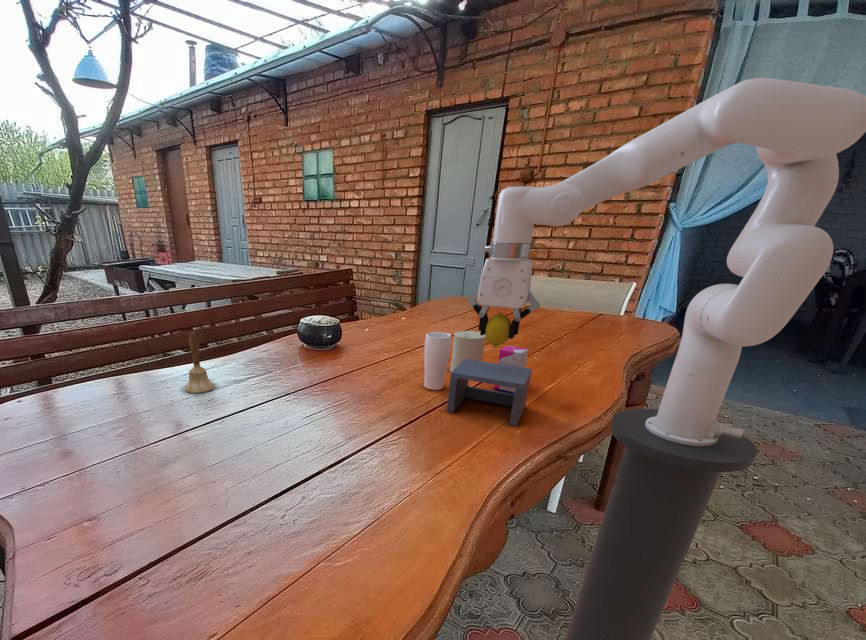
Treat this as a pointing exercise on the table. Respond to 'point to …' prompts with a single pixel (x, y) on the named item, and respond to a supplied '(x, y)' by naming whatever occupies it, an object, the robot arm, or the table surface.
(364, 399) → the table surface
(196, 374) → the hand bell
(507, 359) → the supplement box
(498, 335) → the lemon
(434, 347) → the drinking glass
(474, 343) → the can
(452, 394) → the shelf
